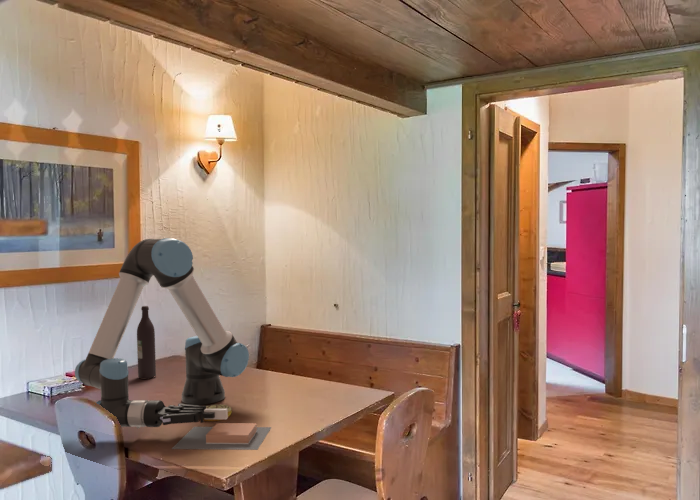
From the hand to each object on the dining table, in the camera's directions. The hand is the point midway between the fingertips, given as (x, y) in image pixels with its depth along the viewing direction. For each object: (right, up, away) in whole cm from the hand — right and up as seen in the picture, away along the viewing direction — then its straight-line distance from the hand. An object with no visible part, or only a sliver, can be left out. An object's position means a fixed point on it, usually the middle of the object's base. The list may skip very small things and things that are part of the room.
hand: (226, 414), depth 165 cm
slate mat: (-1, -7, 0) cm, 8 cm away
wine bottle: (-50, -6, +76) cm, 91 cm away
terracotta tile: (-4, -6, +1) cm, 7 cm away
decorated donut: (-8, -7, +20) cm, 23 cm away
